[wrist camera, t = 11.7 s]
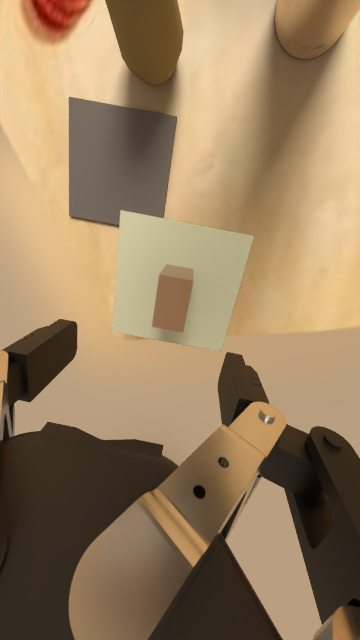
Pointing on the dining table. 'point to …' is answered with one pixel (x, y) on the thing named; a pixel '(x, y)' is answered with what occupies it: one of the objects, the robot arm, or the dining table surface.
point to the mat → (117, 160)
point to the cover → (177, 280)
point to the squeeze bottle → (148, 36)
